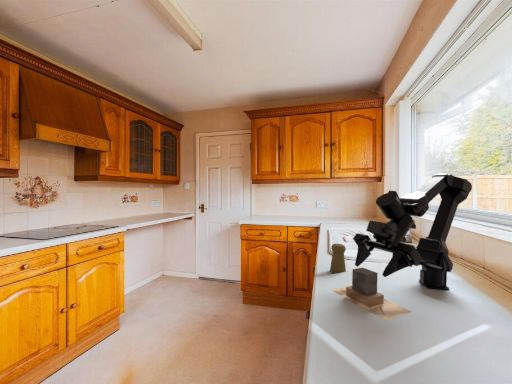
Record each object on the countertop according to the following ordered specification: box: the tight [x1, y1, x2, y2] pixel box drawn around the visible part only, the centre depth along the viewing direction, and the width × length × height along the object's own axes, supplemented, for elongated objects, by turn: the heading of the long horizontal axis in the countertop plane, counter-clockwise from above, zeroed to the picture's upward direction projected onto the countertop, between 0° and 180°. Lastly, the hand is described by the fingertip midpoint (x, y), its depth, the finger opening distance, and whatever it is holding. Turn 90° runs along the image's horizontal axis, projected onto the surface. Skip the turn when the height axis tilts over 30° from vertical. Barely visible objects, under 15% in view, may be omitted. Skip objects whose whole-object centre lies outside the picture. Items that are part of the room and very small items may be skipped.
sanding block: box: [345, 266, 385, 309], centre depth 70 cm, size 8×6×8 cm
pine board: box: [330, 284, 413, 321], centre depth 70 cm, size 19×10×1 cm, turn 26°
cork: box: [329, 243, 347, 275], centre depth 96 cm, size 6×6×11 cm
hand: (369, 270), depth 70 cm, fingers open, 9 cm apart
